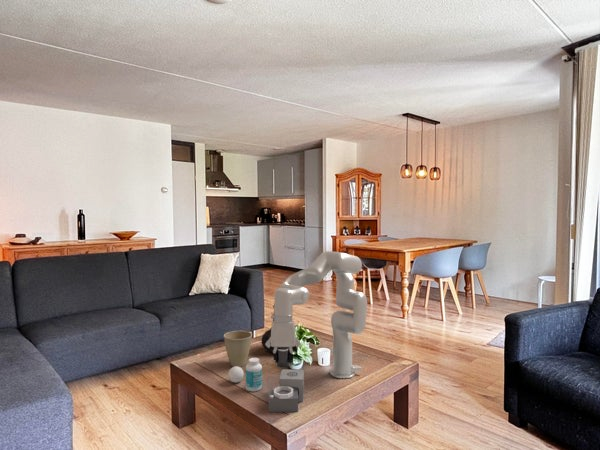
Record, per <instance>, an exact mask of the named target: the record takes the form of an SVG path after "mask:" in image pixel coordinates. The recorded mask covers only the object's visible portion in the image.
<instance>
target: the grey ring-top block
mask: <svg viewBox="0 0 600 450" xmlns="http://www.w3.org/2000/svg"><path fill="white" fill-rule="evenodd" d="M297 412H299V402H298V389H293V388H291V387H289V386H280V385H279V386H276V387H275V388H274V389H269V394H268V413H297Z"/></svg>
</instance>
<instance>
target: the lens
mask: <svg viewBox="0 0 600 450" xmlns="http://www.w3.org/2000/svg"><path fill="white" fill-rule="evenodd" d="M276 366H277V367H279V368H288V367H289V366H290V363H289V347H277V363H276Z"/></svg>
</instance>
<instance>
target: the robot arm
mask: <svg viewBox="0 0 600 450" xmlns="http://www.w3.org/2000/svg"><path fill="white" fill-rule="evenodd" d="M362 265H363V263H362V259H361V258H360V257H358V256H357V255H353V254H350V253H349V254H348V253H345V252H340V251H329V250H326V251H323V252H321V253H320V255H318V256H317V257H316V258H315V260H313V262H312V263H311V264H310V265H309V266H308V267H307V268H303V269H301V270H300V271H297V272H294V273H293V274H291V275H289V276H288V277H287V278H286V279H285V280H284V281H283V282H282V283H281V285H279V288H276V289H275V290H274V296H273V297H274V299H273V300H274V301H273V302H274V303H273V306H274V308H273V315H270V320H272V323H271V327H272V328H271V327H270V329H271V337H270V339H269V340H268V341H267V342H266V344H265V345H266V346H267V347H268V348H270V350H271V351H272V352H273V353H272V354H273V361H275V362H274V363H275V364H277V347H289V364H291V363H292V361H293V353H294V352H295V351H296V350H297V349H298V348H299V347H301V345H302V343H301V342H300V341H299V339H298V338H297V337H296V325H295V322H294V320H293V306H294V305H295V306H296V305H304V304H306V303H307V302H308V301H309V299H310V291H309V290H308V289H307V287H304V286H308V285H314V284H317V283H321V281H323V279H325V278H326V276H327V275H328V274H329V273H330V272H331V271H332V272H333V273H334V274H335V277H336V291H335V293H336V294H335V304H336V306H337V307H339V308H341V309H345V310H350V311H353V312H350V311H345V310H336V311H334V312H333V313H332V315H331V318H330V323H331V329H332V351H333V352H332V358H333V359H332V360H333V361H332V368H331V369H329V374H330V375H331V376H332V377H334V378H336V379H342V378H343V379H345V378H346V379H351V378H353V377H355V375H356V372H362V369H363V368H362V366H359V364H358V365H356V364H355V365H354V364H353V337H352V334H355V335H361V334H363V333H364V331H365V329H366V324H367V315H368V314H367V312H368V298H367V296H366V294H365V293H364V292H362V291H358V290H355V289H354V288H355V287H354V286H355V279H354V276H353V275H356V274H359V273H360V272H361V270H362V267H363V266H362ZM273 319H274V321H273ZM270 343H271V345H270ZM343 379H342V380H343Z"/></svg>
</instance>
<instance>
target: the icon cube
mask: <svg viewBox="0 0 600 450" xmlns="http://www.w3.org/2000/svg"><path fill="white" fill-rule="evenodd" d="M279 386H289V387H291V388H293V389H298V403H304V398H305V397H304V396H305V369H288V368H284V369H281V372H280V377H279Z"/></svg>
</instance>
